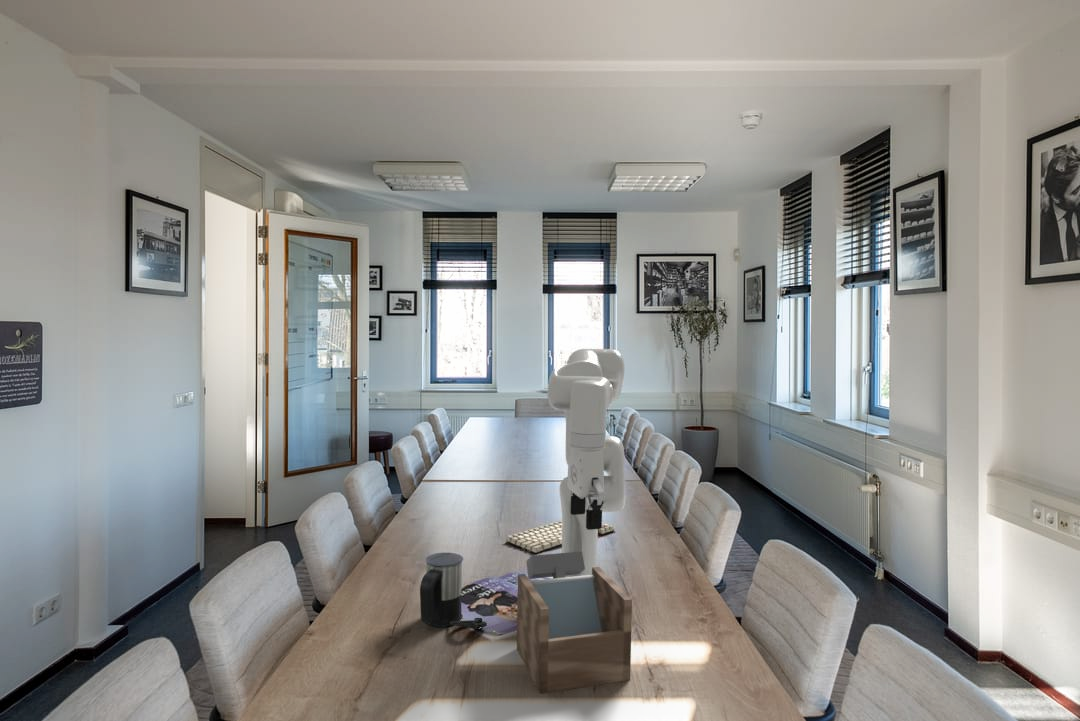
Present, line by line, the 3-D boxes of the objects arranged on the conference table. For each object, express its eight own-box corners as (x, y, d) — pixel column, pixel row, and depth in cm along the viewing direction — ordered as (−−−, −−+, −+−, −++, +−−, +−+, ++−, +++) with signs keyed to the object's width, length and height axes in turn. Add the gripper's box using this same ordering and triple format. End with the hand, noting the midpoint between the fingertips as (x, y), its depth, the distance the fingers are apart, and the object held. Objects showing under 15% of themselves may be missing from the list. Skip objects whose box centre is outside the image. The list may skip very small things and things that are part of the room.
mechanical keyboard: (542, 559, 194) (542, 549, 194) (501, 544, 208) (501, 534, 208) (617, 534, 221) (617, 524, 221) (577, 522, 235) (577, 513, 235)
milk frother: (428, 609, 157) (429, 551, 156) (491, 611, 156) (492, 553, 156) (415, 637, 143) (415, 572, 142) (484, 639, 142) (485, 575, 141)
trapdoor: (520, 561, 144) (526, 555, 139) (581, 556, 148) (589, 549, 143) (531, 657, 134) (538, 653, 129) (596, 648, 138) (605, 644, 133)
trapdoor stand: (516, 648, 138) (517, 574, 138) (597, 637, 144) (598, 566, 143) (539, 693, 121) (541, 609, 120) (630, 679, 126) (632, 599, 126)
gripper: (557, 433, 137) (556, 510, 138) (584, 449, 121) (582, 536, 122) (589, 432, 139) (588, 507, 140) (620, 447, 123) (618, 533, 124)
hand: (585, 521), depth 131 cm, fingers open, 9 cm apart
